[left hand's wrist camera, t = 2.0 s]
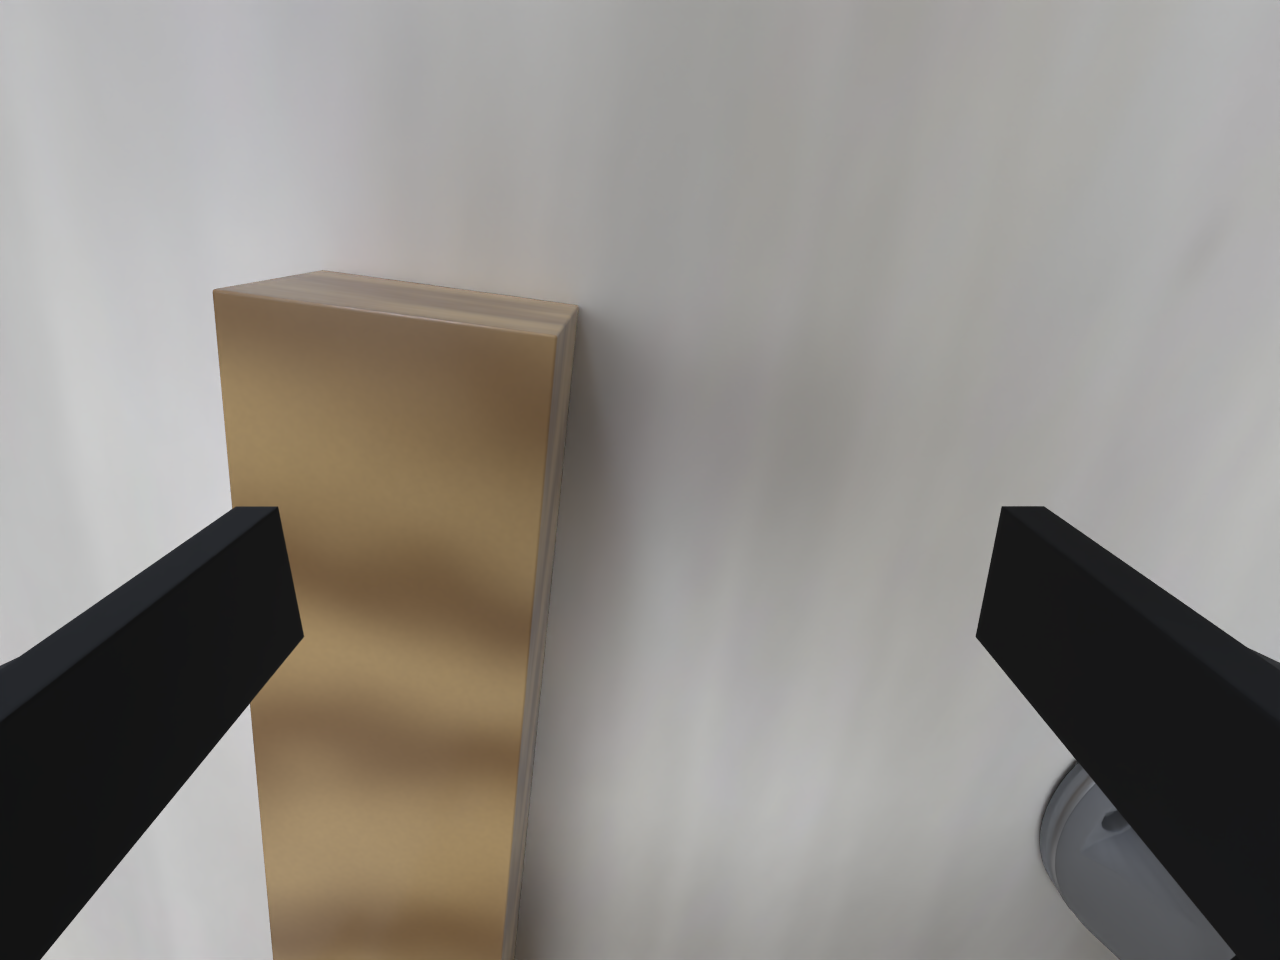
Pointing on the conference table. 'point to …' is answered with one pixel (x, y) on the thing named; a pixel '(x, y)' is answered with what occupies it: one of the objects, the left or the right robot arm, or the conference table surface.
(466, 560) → the thick board
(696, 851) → the conference table surface
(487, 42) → the conference table surface
